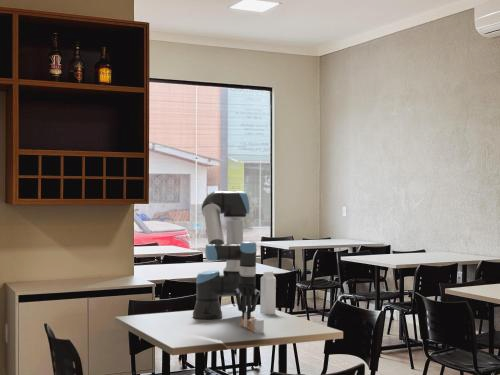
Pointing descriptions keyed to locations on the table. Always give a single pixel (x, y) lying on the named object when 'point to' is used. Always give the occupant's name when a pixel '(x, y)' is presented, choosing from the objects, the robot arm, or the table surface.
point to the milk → (268, 293)
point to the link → (251, 324)
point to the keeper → (258, 325)
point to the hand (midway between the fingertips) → (246, 326)
